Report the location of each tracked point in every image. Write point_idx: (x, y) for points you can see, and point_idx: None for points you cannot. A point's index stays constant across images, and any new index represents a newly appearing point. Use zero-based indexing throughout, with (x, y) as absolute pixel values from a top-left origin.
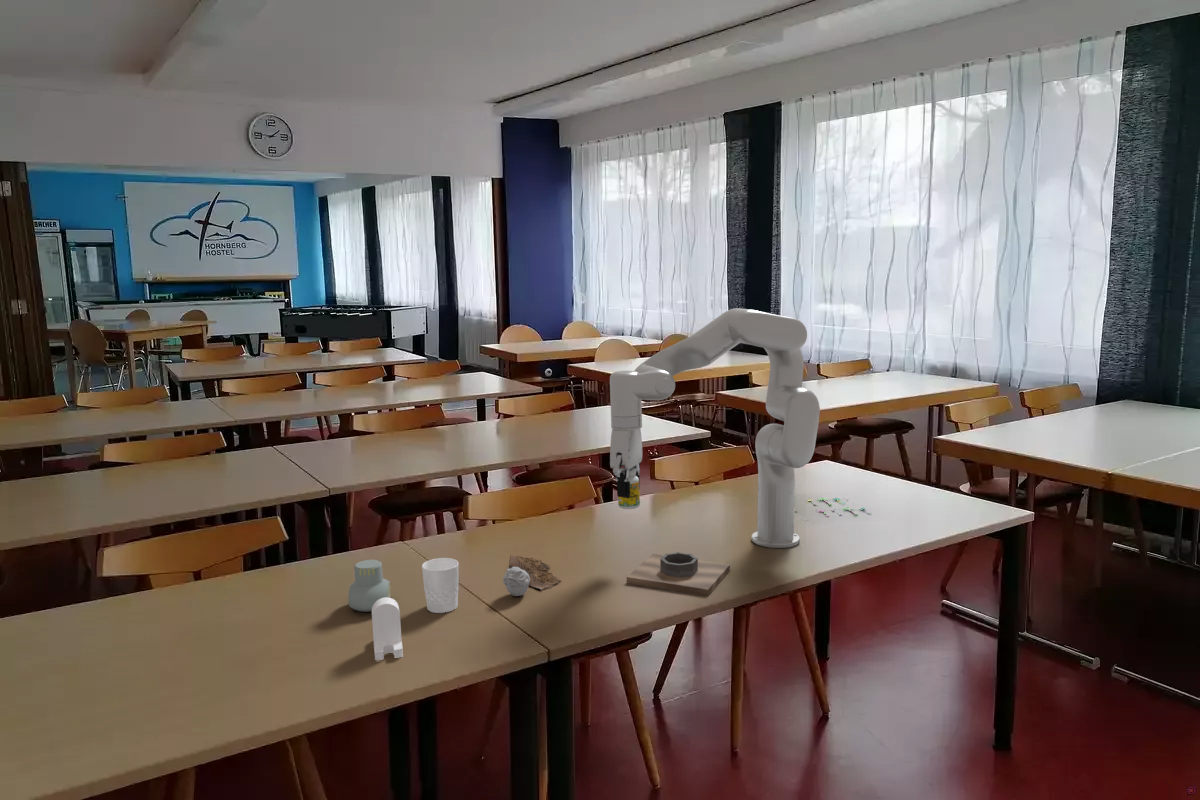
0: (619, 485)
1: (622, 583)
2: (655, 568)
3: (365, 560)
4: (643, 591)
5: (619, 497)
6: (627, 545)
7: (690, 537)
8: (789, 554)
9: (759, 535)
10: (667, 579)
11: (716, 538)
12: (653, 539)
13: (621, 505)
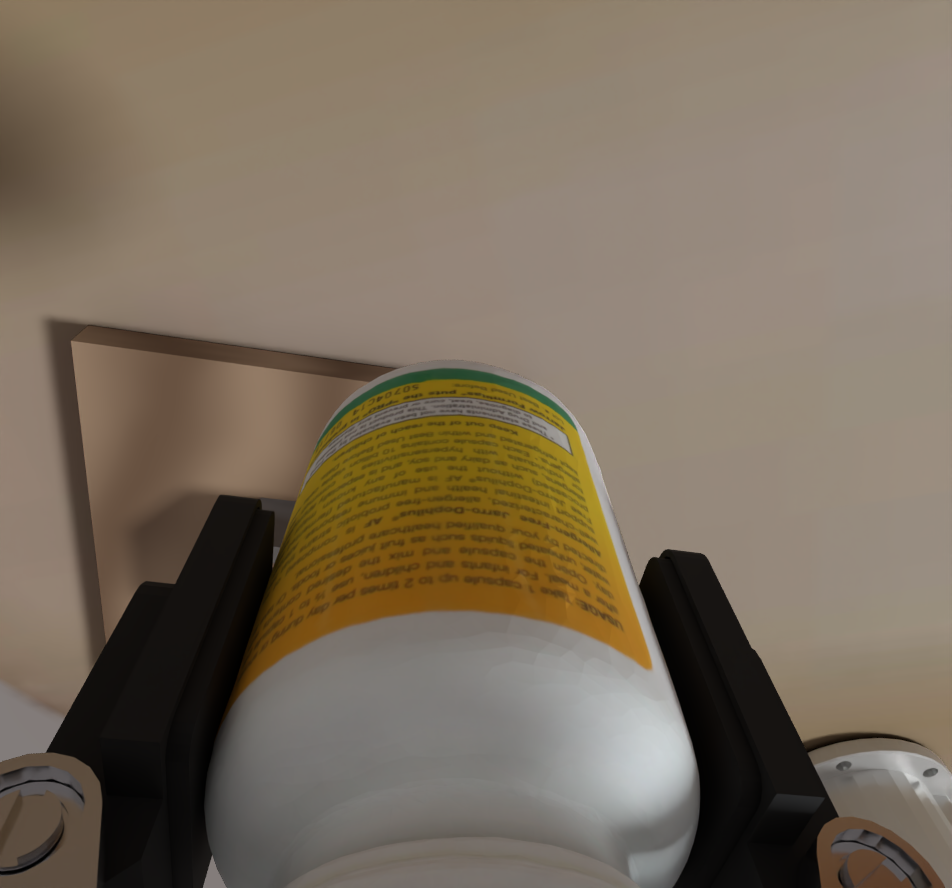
0: (76, 717)
1: (71, 302)
2: (284, 467)
3: None
4: (21, 440)
5: (321, 473)
6: (797, 153)
7: (932, 504)
8: None
9: (835, 792)
10: (147, 551)
11: (899, 615)
12: (918, 309)
13: (318, 441)
